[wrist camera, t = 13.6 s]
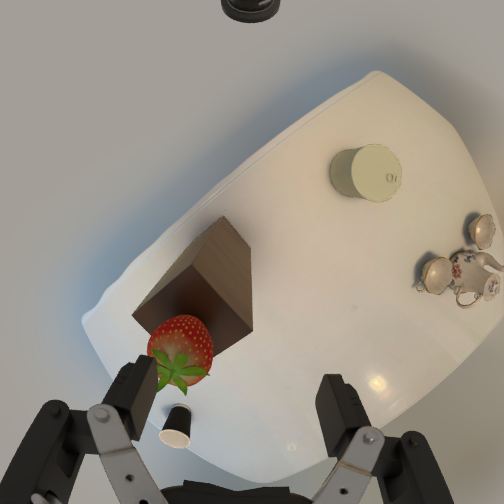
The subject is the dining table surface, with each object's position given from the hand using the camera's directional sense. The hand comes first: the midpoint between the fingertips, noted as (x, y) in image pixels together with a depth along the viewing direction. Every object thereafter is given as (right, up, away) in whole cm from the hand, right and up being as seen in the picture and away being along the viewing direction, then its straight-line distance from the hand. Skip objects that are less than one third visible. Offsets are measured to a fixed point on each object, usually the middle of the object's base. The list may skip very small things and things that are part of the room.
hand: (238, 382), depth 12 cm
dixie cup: (-18, -36, +52) cm, 66 cm away
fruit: (-5, 0, +12) cm, 13 cm away
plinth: (-5, +7, +41) cm, 42 cm away
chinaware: (+50, +4, +42) cm, 66 cm away
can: (+20, +21, +38) cm, 47 cm away
